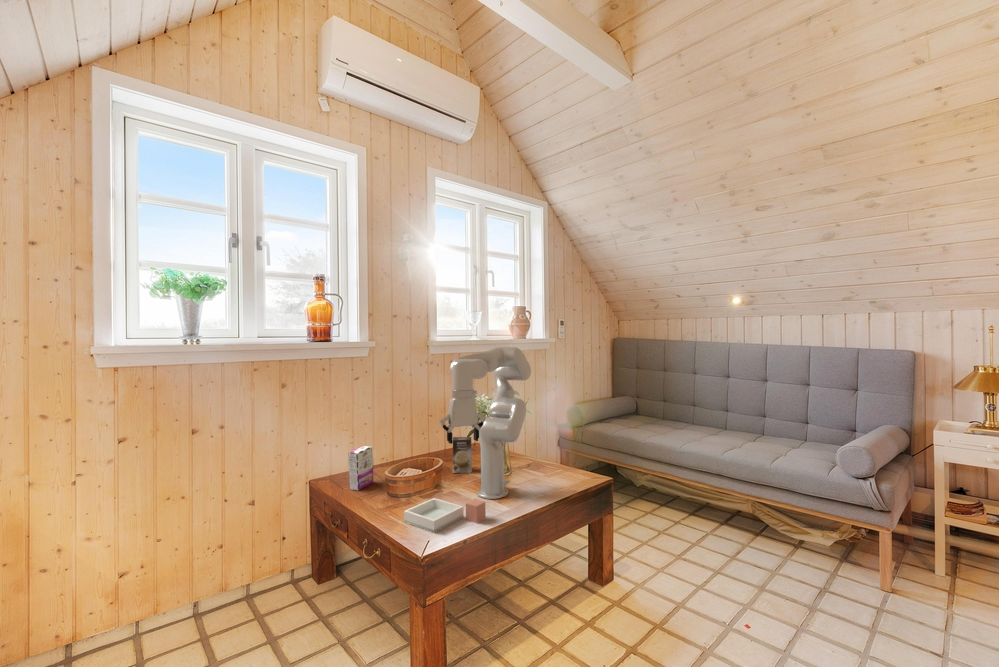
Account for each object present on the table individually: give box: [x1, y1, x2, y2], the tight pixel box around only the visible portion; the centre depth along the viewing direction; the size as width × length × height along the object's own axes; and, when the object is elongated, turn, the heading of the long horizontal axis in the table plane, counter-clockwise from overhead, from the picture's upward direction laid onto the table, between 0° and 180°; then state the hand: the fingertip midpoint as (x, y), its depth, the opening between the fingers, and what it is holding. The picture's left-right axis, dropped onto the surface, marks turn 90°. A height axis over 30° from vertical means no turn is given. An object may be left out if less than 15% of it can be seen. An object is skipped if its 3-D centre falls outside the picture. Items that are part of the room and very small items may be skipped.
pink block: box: [465, 498, 487, 524], centre depth 161 cm, size 5×5×6 cm
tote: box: [403, 497, 465, 534], centre depth 161 cm, size 15×15×4 cm
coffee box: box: [452, 436, 473, 474], centre depth 215 cm, size 9×6×16 cm
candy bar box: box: [348, 445, 374, 491], centre depth 198 cm, size 11×5×16 cm, turn 161°
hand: (463, 441), depth 162 cm, fingers open, 9 cm apart
